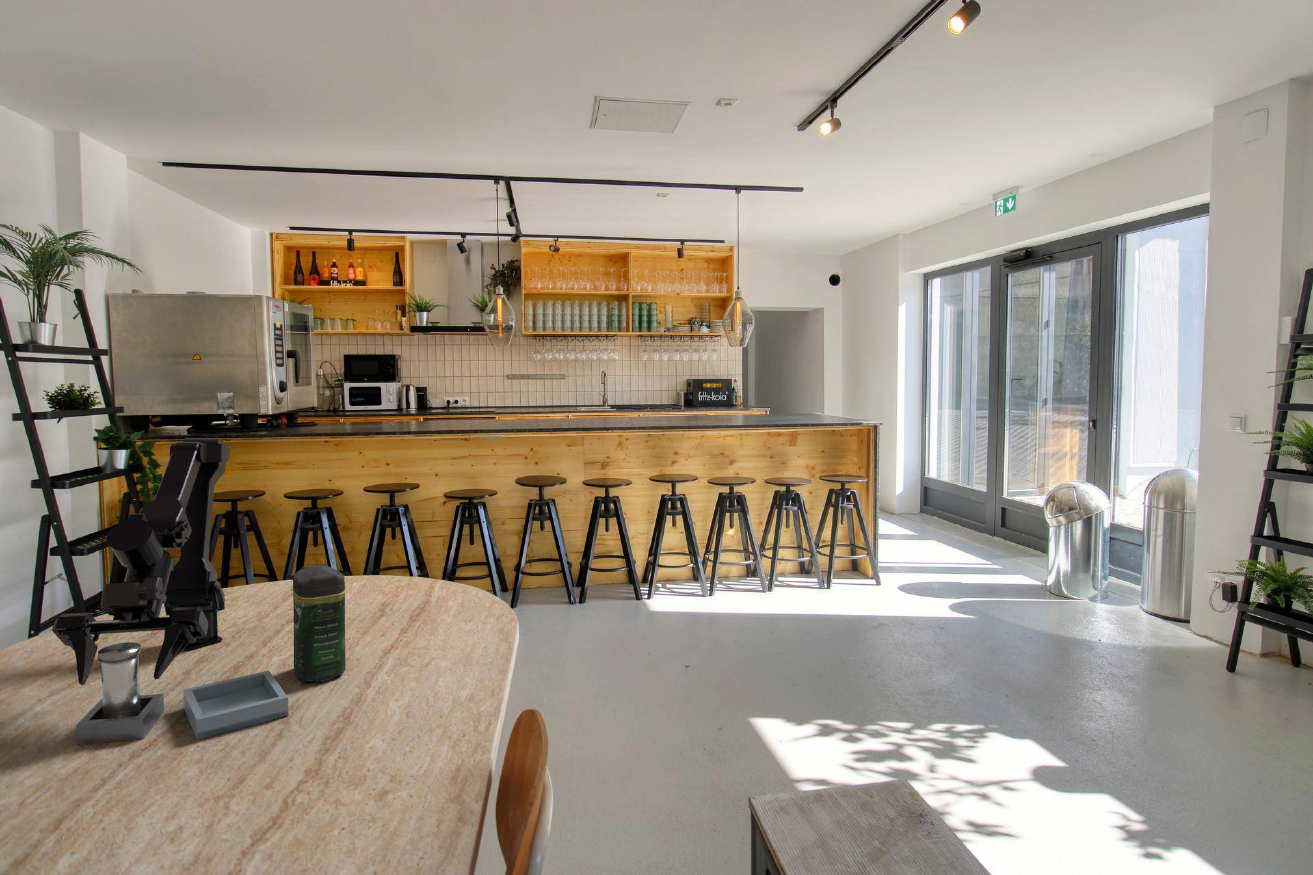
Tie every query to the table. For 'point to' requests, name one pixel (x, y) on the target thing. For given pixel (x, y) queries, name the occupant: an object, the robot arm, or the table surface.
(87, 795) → the table surface
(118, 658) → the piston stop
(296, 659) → the coffee jar
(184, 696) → the parts tray
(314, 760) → the table surface
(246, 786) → the table surface
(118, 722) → the grey square tray
